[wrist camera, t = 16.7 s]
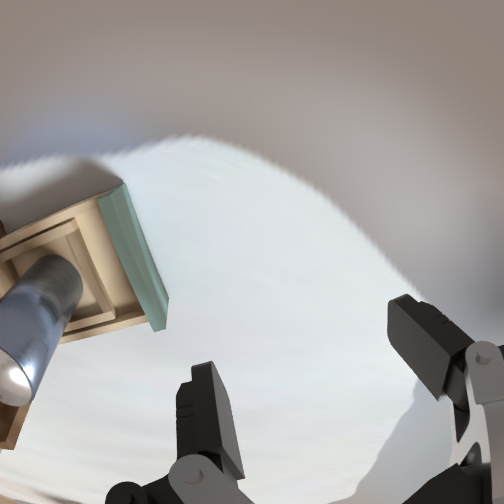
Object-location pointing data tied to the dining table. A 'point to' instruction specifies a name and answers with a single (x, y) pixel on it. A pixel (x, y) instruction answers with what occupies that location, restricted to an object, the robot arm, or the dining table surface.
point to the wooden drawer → (94, 263)
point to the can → (35, 324)
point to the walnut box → (10, 411)
